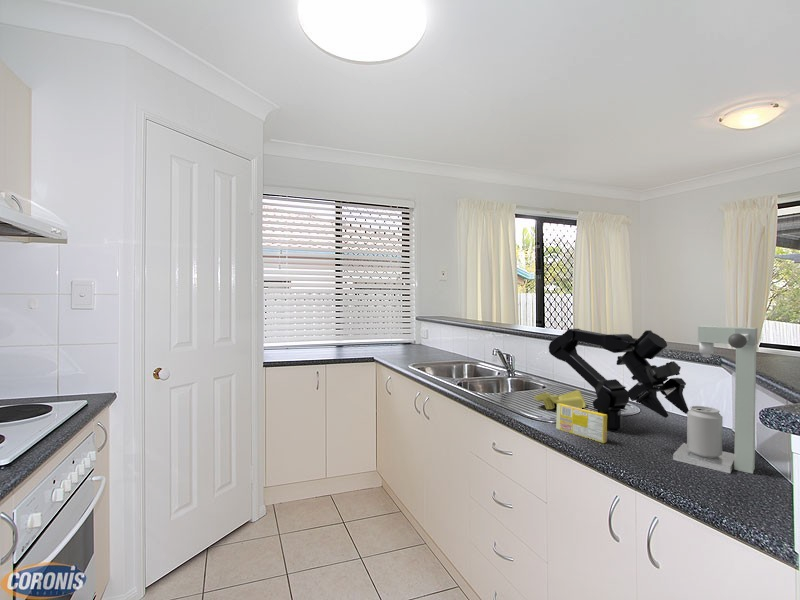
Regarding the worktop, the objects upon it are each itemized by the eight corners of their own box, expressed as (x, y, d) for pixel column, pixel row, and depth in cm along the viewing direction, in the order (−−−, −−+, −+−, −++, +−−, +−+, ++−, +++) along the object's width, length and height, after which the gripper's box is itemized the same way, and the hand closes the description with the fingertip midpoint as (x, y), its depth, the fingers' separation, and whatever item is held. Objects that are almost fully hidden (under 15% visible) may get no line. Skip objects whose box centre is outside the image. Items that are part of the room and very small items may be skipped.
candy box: (607, 442, 122) (608, 414, 122) (603, 444, 121) (603, 415, 121) (559, 427, 136) (559, 402, 136) (555, 429, 135) (555, 403, 135)
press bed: (673, 459, 109) (673, 454, 109) (683, 448, 118) (683, 442, 118) (730, 473, 101) (730, 467, 101) (736, 459, 110) (736, 454, 110)
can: (705, 448, 114) (706, 404, 114) (729, 458, 106) (730, 411, 106) (680, 449, 113) (680, 404, 113) (702, 459, 106) (702, 412, 106)
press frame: (682, 479, 98) (684, 329, 97) (700, 455, 113) (701, 325, 112) (745, 495, 90) (747, 332, 89) (755, 467, 104) (757, 328, 104)
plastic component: (561, 395, 171) (581, 388, 164) (567, 413, 168) (588, 407, 161) (528, 397, 160) (549, 391, 153) (534, 417, 157) (555, 411, 150)
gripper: (638, 353, 116) (678, 402, 107) (679, 350, 124) (720, 395, 115) (612, 376, 124) (647, 424, 114) (653, 372, 132) (689, 416, 122)
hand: (677, 414), depth 116 cm, fingers open, 9 cm apart
